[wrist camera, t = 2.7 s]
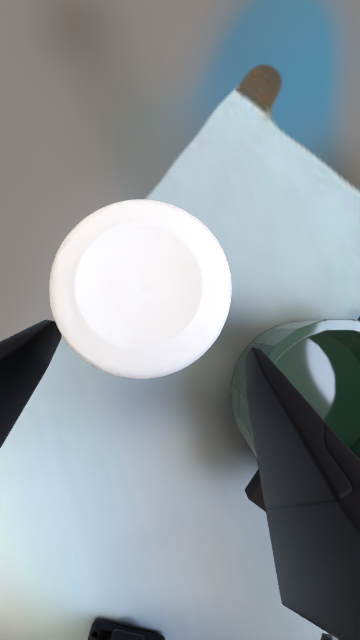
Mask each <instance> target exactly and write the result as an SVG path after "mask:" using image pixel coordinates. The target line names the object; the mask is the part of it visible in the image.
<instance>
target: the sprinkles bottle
mask: <svg viewBox="0 0 360 640" xmlns="http://www.w3.org/2000/svg"><path fill="white" fill-rule="evenodd" d="M231 295H232V286H231V273H230V269H229V266H228V262H227V259H226V256H225V254H224V252H223V250H222V248H221V246H220V244H219V242H218V241H217V239H216V238H215V237H214V235H213V234H212V233H211V231H210V230H209V229H208V228H207V227H206V226H205V225H204V224H203V223H202V222H200V221H199V220H198V219H197V218H196V217H194V216H193V215H191V214H190V213H188V212H186V211H184V210H182V209H181V208H178V207H176V206H173V205H171V204H168V203H165V202H160V201H156V200H144V199H141V200H128V201H122V202H117V203H114V204H111V205H108V206H105V207H103V208H101V209H99V210H97V211H95V212H93V213H92V214H90V215H89V216H87V217H86V218H84V219H83V220H82V221H81V222H80V223H79V224H78V225H77V226H76V227H75V228H74V229H73V230H72V231H70V233H69V234H68V236H67V237H66V238H65V240H64V241H63V243H62V245H61V246H60V248H59V250H58V252H57V254H56V256H55V260H54V263H53V266H52V269H51V275H50V284H49V297H50V305H51V309H52V313H53V317H54V320H55V322H56V324H57V327H58V329H59V331H60V332H61V334H62V336H63V337H64V339H65V340H66V342H67V343H68V345H69V346H70V347H71V348H72V349H73V350H74V352H75V353H76V354H78V355H79V356H80V357H81V358H82V359H83V360H84V361H86V362H87V363H89V364H91V365H92V366H94V367H96V368H98V369H100V370H102V371H104V372H107V373H109V374H112V375H115V376H118V377H124V378H130V379H152V378H157V377H162V376H166V375H169V374H172V373H175V372H177V371H179V370H181V369H183V368H185V367H187V366H189V365H190V364H192V363H193V362H194V361H196V360H197V359H198V358H199V357H201V356H202V355H203V354H204V353H205V352H206V351H207V350H208V349H209V348H210V347H211V346H212V344H213V343H214V342H215V340H216V339H217V337H218V336H219V334H220V332H221V330H222V328H223V326H224V324H225V321H226V319H227V316H228V312H229V308H230V303H231Z"/></svg>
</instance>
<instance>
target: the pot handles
mask: <svg viewBox="0 0 360 640" xmlns="http://www.w3.org/2000/svg"><path fill="white" fill-rule="evenodd" d="M357 321H360V317H359V318H358V320H357ZM245 492H246V494H247V497H248V499H249V500H251V501H252V502H253V503H255V504H256V505H257V506H259V507H260V508H261V509H263V510H264V511H265V512H266V508H265V502H264V496H263V490H262V485H261V479H260V473H259V469H258V470H257V472H256V473H255V475H254V476H253V478H252V479H251V481H250V482H249V484H248V485H247V487H246V488H245Z"/></svg>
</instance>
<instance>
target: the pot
mask: <svg viewBox="0 0 360 640" xmlns="http://www.w3.org/2000/svg"><path fill="white" fill-rule="evenodd" d="M251 347H257V348H261V349H262V350H263V351H264V352H265V354H266V355H267V356H268V357H269V358H270V359H271V360H272V362H273V363H274V364H275V365H276V366H277V367H278V368H279V370H280V371H281V372H282V373H283V374H284V375H285V376H286V378H287V379H288V380H289V381H290V382H291V383H292V384H293V386H294V387H295V388H296V389H297V390H298V391H299V392H300V394H301V395H302V396H303V397H304V398H305V399H306V400H307V402H308V403H309V404H310V405H311V406H312V407H313V408H314V410H315V411H316V412H317V413H318V414H319V415H320V416H321V418H322V419H323V420H324V422H325V423H327V424H328V425H329V427H330V428H331V429H332V430H333V431H334V432H335V433H336V435H337V436H338V437H339V438H340V439H341V440H342V441H343V442H344V443H345V445H346V446H347V447H348V448H349V449H350V450H351V451H352V452H353V453H354V454H355V455H356V456H357V457H358V458H359V459H360V321H357V320H312V321H299V322H291V323H287V324H282V325H279V326H276V327H273V328H271V329H269V330H267V331H265V332H263V333H262V334H261V335H259V336H258V337H257V338H255V339H254V340H253V341H252V342H251V343H250V344H249V345H248V346H247V348H246V349H245V350H244V351H243V353H242V355H241V356H240V358H239V360H238V362H237V364H236V367H235V369H234V373H233V376H232V382H231V405H232V410H233V414H234V417H235V420H236V423H237V425H238V427H239V429H240V432H241V434H242V436H243V437H244V439H245V440H246V442H247V444H248V445H249V447H250V448H251V450H252V452H253V453H254V455H255V456H256V458H257V455H256V449H255V444H254V438H253V432H252V426H251V420H250V414H249V409H248V403H247V397H246V387H245V369H244V359H245V356H246V354H247V353H248V351H249V349H250V348H251Z"/></svg>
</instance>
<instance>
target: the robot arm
mask: <svg viewBox="0 0 360 640" xmlns="http://www.w3.org/2000/svg"><path fill="white" fill-rule="evenodd" d="M61 336H62V334H61V332H60V331H59V329H58V327H57V324H56V322H55V321H51V320H44V321H42V322H40V323H37V324H35V325H33V326H31V327H29V328H27V329H25V330H23V331H21V332H19V333H17V334H15V335H13V336H11V337H9V338H7V339H5V340H3V341H1V342H0V448H1V446H2V444H3V443H4V441H5V439H6V438H7V436H8V434H9V433H10V431H11V429H12V427H13V426H14V424H15V422H16V421H17V419H18V417H19V416H20V414H21V412H22V411H23V409H24V407H25V405H26V404H27V402H28V400H29V399H30V397H31V395H32V394H33V392H34V390H35V388H36V387H37V385H38V383H39V382H40V380H41V378H42V377H43V375H44V373H45V371H46V370H47V368H48V366H49V364H50V362H51V360H52V357H53V355H54V353H55V351H56V348H57V346H58V344H59V342H60V340H61ZM244 369H245V387H246V397H247V403H248V409H249V414H250V420H251V426H252V432H253V438H254V444H255V449H256V455H257V461H258V467H259V473H260V479H261V485H262V490H263V496H264V502H265V508H266V514H267V520H268V526H269V532H270V538H271V544H272V550H273V555H274V561H275V567H276V573H277V579H278V585H279V591H280V596H281V601H282V604H283V605H284V606H286V607H287V608H289V609H291V610H292V611H294V612H295V613H297V614H299V615H300V616H302V617H303V618H305V619H307V620H308V621H310V622H311V623H313V624H315V625H316V626H318V627H319V628H321V629H323V630H324V631H326V632H327V633H329V634H324V633H322V637H321V640H360V459H359V458H358V457H357V456H356V455H355V454H354V453H353V452H352V451H351V450H350V449H349V448H348V447H347V446H346V445H345V443H344V442H343V441H342V440H341V439H340V438H339V437H338V436H337V435H336V433H335V432H334V431H333V430H332V429H331V428H330V427H329V425H328V424H327V423H325V422H324V420H323V419H322V418H321V416H320V415H319V414H318V413H317V412H316V411H315V410H314V408H313V407H312V406H311V405H310V404H309V403H308V402H307V400H306V399H305V398H304V397H303V396H302V395H301V394H300V392H299V391H298V390H297V389H296V388H295V387H294V386H293V384H292V383H291V382H290V381H289V380H288V379H287V378H286V376H285V375H284V374H283V373H282V372H281V371H280V370H279V368H278V367H277V366H276V365H275V364H274V363H273V362H272V360H271V359H270V358H269V357H268V356H267V355H266V354H265V352H264V351H263V350H262V349H261V348H257V347H251V348H250V349H249V351H248V353H247V354H246V356H245V359H244ZM88 640H165V638H164V637H163V636H162V635H159V634H155V633H150V632H146V631H142V630H137V629H133V628H129V627H124V626H120V625H116V624H111V623H107V622H103V621H94V622H93V624H92V626H91V630H90V633H89V637H88Z"/></svg>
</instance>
